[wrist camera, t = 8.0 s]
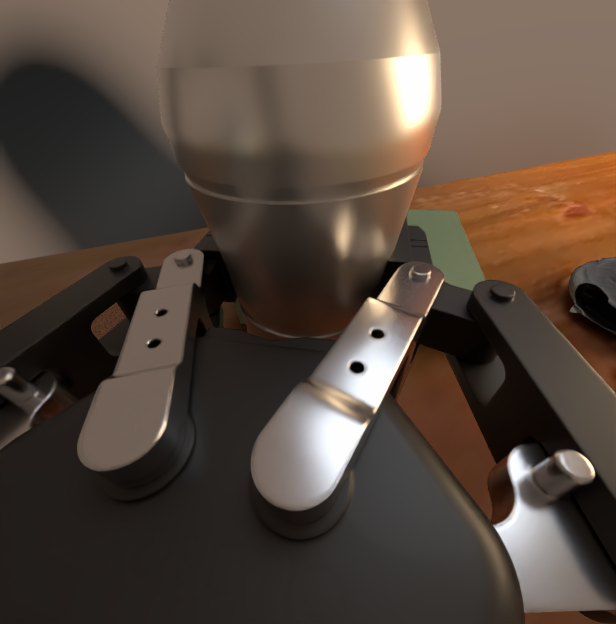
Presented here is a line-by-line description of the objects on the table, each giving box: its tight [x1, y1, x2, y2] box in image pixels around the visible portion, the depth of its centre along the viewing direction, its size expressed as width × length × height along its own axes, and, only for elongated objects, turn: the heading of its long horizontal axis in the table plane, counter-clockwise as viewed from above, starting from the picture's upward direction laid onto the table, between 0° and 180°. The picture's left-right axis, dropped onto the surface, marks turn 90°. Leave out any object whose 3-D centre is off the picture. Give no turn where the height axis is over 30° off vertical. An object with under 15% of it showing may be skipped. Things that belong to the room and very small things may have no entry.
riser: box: [235, 210, 485, 324], centre depth 24 cm, size 17×13×4 cm
